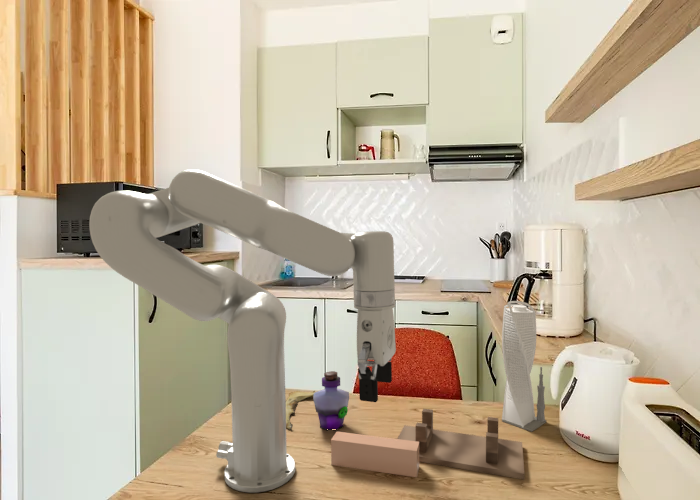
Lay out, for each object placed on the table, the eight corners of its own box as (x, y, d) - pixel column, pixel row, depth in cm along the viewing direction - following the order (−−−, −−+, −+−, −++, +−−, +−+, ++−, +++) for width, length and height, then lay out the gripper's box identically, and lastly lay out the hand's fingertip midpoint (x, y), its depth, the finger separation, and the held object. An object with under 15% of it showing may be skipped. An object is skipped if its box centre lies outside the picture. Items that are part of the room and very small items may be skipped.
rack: (390, 456, 84) (390, 426, 84) (404, 429, 95) (404, 402, 95) (524, 479, 76) (524, 445, 76) (522, 446, 87) (522, 417, 87)
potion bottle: (342, 436, 92) (341, 381, 92) (305, 430, 95) (305, 376, 95) (356, 420, 101) (355, 368, 100) (321, 414, 104) (321, 365, 103)
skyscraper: (528, 434, 93) (529, 303, 91) (494, 421, 99) (494, 299, 98) (546, 422, 98) (547, 299, 97) (512, 411, 104) (513, 295, 103)
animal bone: (291, 389, 117) (326, 386, 116) (292, 397, 118) (328, 394, 116) (262, 427, 97) (304, 424, 95) (263, 437, 97) (306, 434, 95)
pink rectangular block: (331, 465, 82) (331, 439, 81) (337, 456, 85) (336, 431, 85) (416, 478, 77) (416, 451, 77) (419, 468, 80) (419, 441, 80)
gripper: (381, 308, 70) (383, 412, 71) (404, 292, 86) (406, 377, 87) (338, 306, 73) (341, 407, 74) (368, 291, 89) (370, 373, 90)
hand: (376, 390), depth 80 cm, fingers open, 9 cm apart
